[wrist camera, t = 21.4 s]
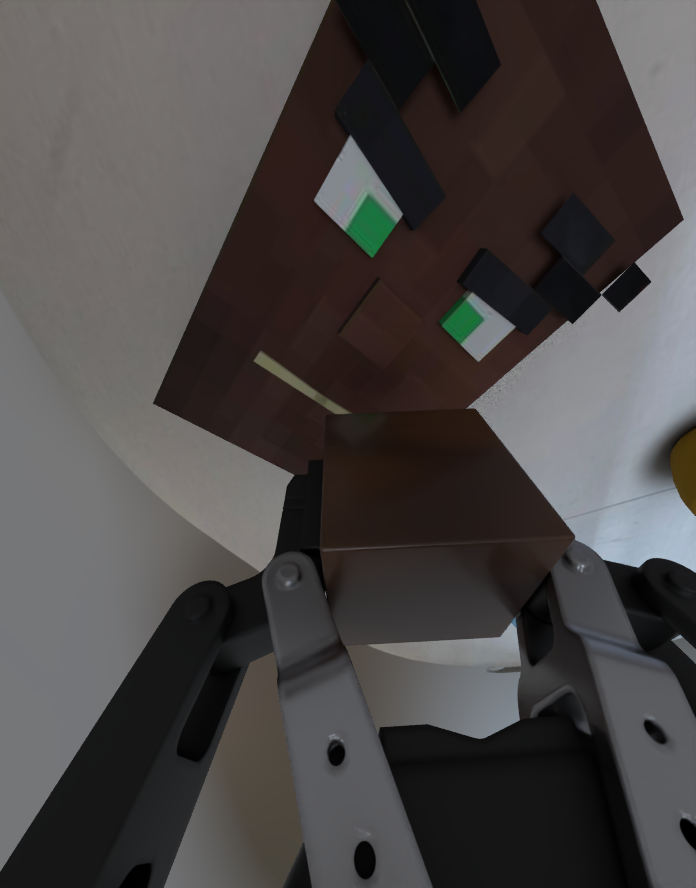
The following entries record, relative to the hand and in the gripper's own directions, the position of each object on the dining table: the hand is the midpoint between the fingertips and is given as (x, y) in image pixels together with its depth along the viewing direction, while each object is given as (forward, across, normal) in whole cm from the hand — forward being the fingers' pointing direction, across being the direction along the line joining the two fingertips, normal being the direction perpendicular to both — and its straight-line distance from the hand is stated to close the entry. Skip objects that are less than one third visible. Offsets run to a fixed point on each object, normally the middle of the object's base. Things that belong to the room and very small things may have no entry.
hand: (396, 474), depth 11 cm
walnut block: (0, 0, 0) cm, 0 cm away
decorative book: (+16, 0, -3) cm, 16 cm away
